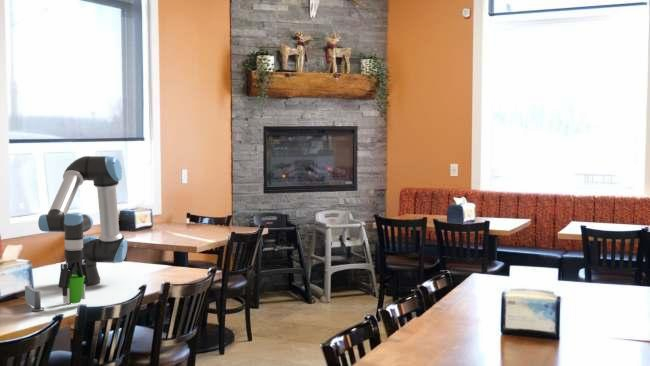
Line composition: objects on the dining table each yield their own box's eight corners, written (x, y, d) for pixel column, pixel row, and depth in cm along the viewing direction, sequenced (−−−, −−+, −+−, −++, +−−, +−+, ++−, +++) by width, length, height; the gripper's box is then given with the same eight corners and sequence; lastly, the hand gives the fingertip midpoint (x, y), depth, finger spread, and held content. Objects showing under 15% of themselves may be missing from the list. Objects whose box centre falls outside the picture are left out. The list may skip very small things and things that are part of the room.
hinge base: (37, 308, 329) (37, 306, 329) (46, 309, 327) (46, 308, 327) (28, 311, 325) (28, 309, 324) (37, 312, 323) (37, 310, 322)
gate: (41, 308, 326) (41, 291, 325) (35, 309, 324) (35, 292, 324) (29, 300, 339) (29, 285, 339) (24, 301, 338) (23, 285, 337)
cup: (59, 303, 328) (58, 278, 327) (70, 299, 337) (70, 274, 336) (78, 305, 326) (78, 279, 326) (89, 300, 335) (89, 275, 334)
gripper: (84, 245, 342) (84, 295, 343) (48, 251, 322) (49, 305, 323) (98, 246, 339) (98, 296, 340) (62, 253, 319) (63, 307, 320)
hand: (74, 300), depth 332 cm, fingers closed on cup, 9 cm apart
